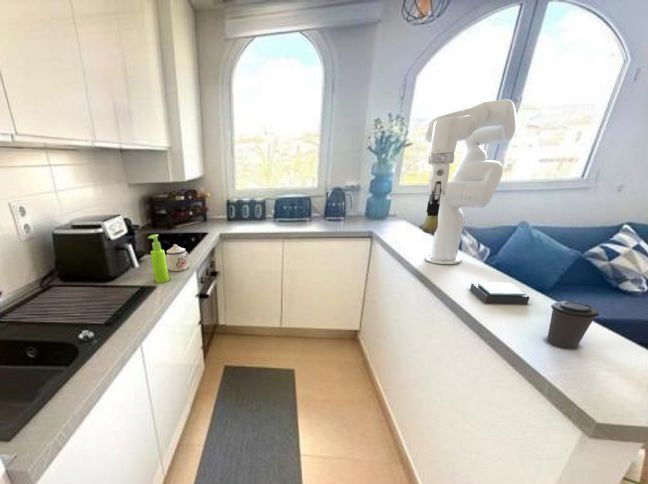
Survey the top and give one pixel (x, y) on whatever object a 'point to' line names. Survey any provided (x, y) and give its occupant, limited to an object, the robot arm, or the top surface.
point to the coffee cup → (569, 323)
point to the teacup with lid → (177, 258)
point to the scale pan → (501, 289)
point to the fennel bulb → (430, 224)
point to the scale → (497, 296)
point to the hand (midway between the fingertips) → (432, 213)
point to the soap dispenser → (158, 261)
